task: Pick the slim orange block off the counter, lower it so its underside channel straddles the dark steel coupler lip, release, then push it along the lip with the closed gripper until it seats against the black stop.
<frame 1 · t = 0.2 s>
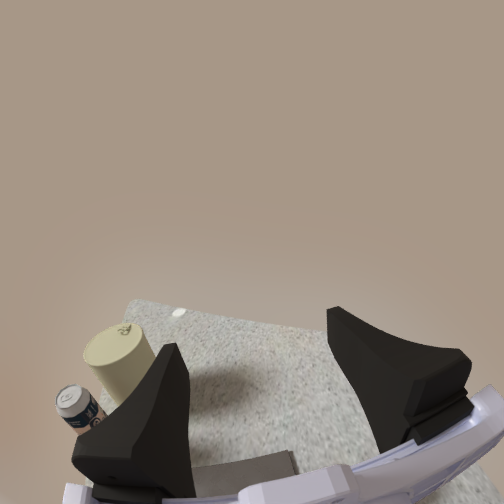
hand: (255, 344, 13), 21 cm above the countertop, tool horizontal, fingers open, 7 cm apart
beer can: (122, 455, 28), on the countertop
can: (149, 401, 37), on the countertop
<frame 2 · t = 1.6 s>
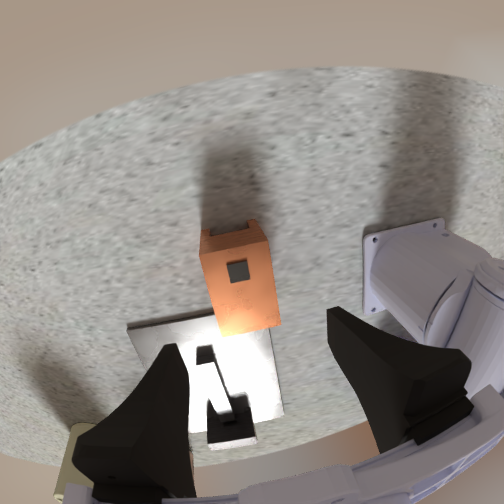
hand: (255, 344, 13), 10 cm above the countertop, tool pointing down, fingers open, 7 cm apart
orange block: (235, 261, 22), on the countertop
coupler: (215, 381, 26), on the countertop
can: (101, 440, 29), on the countertop
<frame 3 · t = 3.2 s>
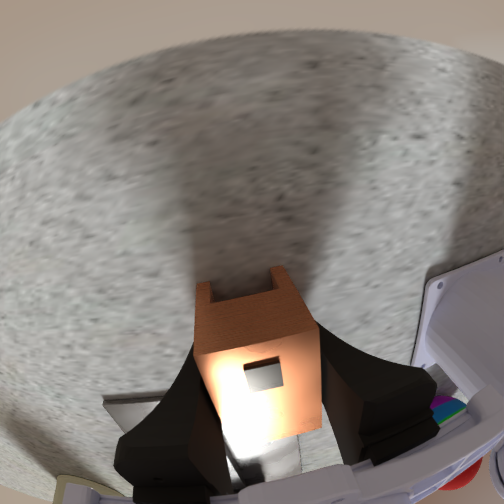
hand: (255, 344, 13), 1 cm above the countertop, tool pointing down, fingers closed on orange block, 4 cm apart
orange block: (251, 326, 14), on the countertop, touching gripper
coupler: (221, 452, 19), on the countertop
decorative egg: (421, 413, 22), on the countertop
can: (92, 490, 21), on the countertop
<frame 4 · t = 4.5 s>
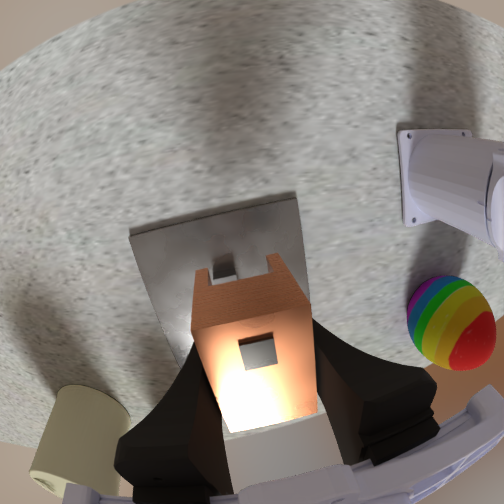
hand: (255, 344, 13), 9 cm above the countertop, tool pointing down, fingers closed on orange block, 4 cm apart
orange block: (248, 314, 15), point 7 cm above the countertop, touching gripper
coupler: (235, 312, 23), on the countertop
decorative egg: (426, 300, 26), on the countertop
can: (93, 410, 26), on the countertop
when the fingers open (2 cm above the countertop, at t = 6.4 s): orange block stays where it is, resting on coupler.
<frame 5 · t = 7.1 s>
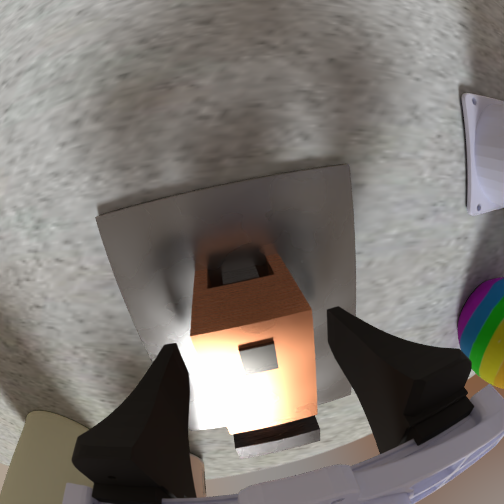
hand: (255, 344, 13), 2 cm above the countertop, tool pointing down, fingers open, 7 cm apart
orange block: (247, 315, 15), resting on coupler
beer can: (176, 456, 20), on the countertop
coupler: (251, 330, 16), on the countertop
decorative egg: (476, 307, 19), on the countertop
can: (69, 439, 18), on the countertop
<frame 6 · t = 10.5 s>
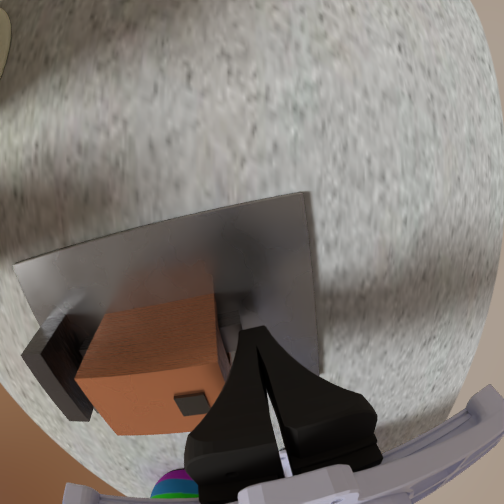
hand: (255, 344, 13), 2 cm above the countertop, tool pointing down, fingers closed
orange block: (168, 335, 15), resting on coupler, touching gripper
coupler: (169, 332, 15), on the countertop
decorative egg: (191, 477, 22), on the countertop
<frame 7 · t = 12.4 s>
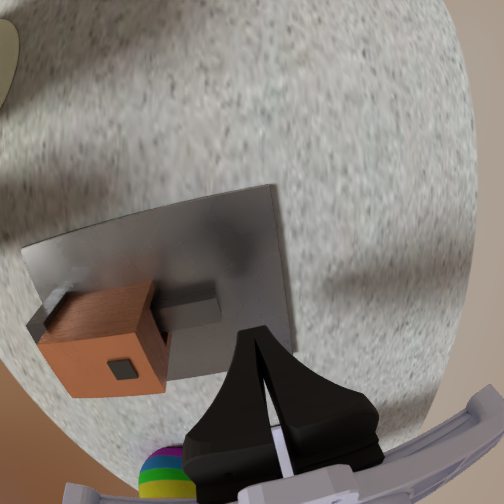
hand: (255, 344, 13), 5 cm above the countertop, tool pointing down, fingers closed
orange block: (118, 317, 17), resting on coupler
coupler: (155, 308, 17), on the countertop
decorative egg: (179, 456, 24), on the countertop
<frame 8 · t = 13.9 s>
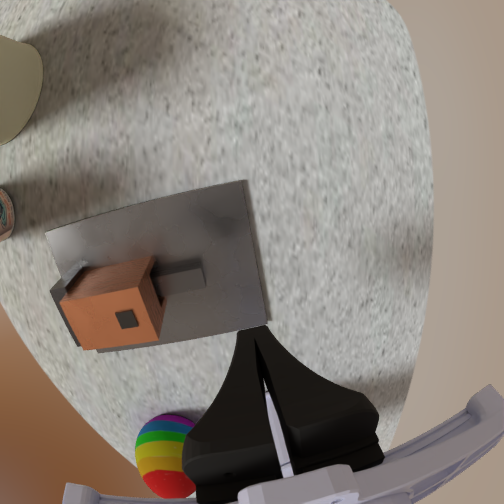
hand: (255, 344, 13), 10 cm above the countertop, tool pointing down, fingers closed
orange block: (124, 286, 21), resting on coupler
beer can: (0, 212, 18), on the countertop
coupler: (154, 279, 22), on the countertop
decorative egg: (173, 425, 29), on the countertop
can: (5, 93, 14), on the countertop
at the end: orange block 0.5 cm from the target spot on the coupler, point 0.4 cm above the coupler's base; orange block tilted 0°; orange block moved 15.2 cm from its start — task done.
